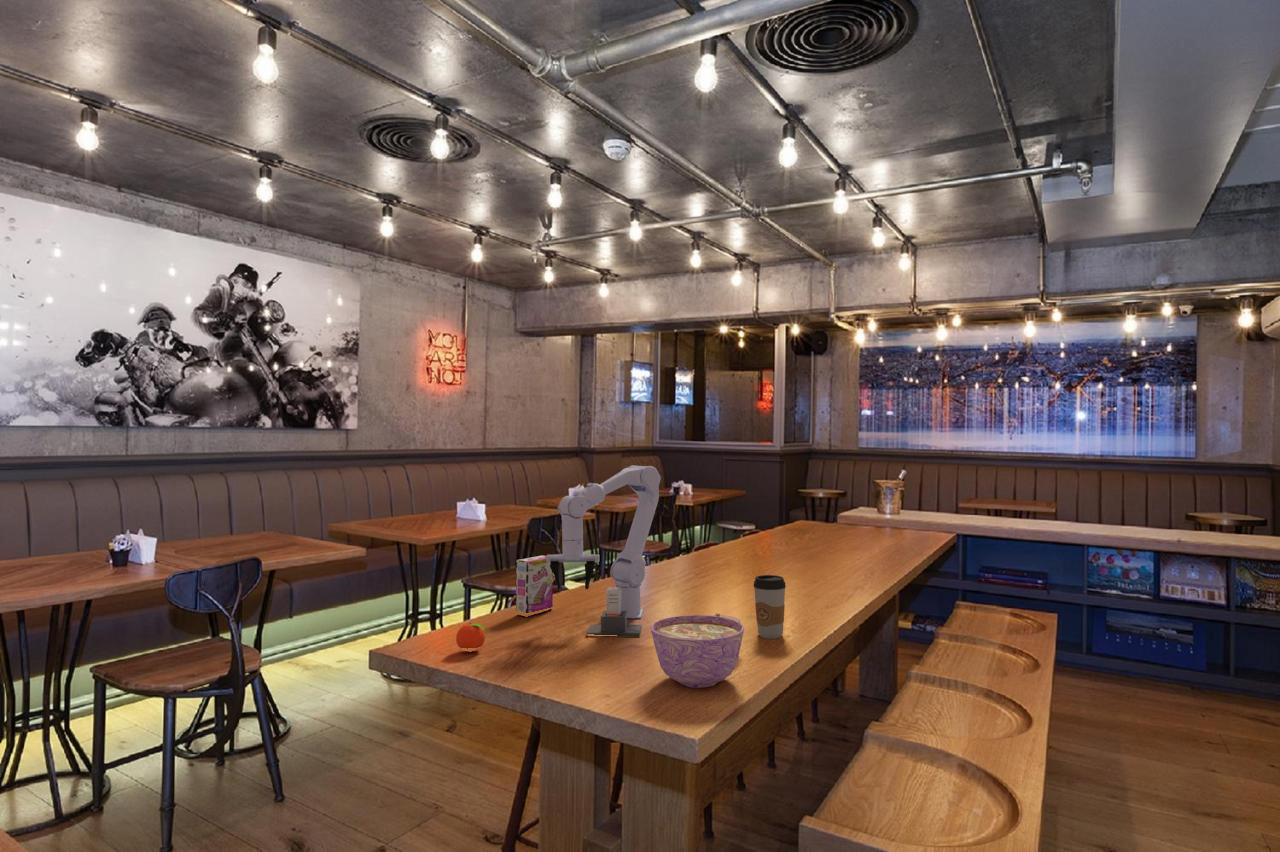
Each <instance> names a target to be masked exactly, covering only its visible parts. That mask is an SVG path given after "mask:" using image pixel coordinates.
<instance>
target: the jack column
mask: <svg viewBox="0 0 1280 852" xmlns="http://www.w3.org/2000/svg"><path fill="white" fill-rule="evenodd" d="M606 611H607V615H619V616H622V600H621V587H616V586H614V587H613V586H612V587H611V586H609V587H607V588H606ZM607 615H606V616H607Z"/></svg>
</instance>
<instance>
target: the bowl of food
mask: <svg viewBox="0 0 1280 852" xmlns="http://www.w3.org/2000/svg"><path fill="white" fill-rule="evenodd" d="M650 631H651V635H652V636H651V637H652V640H653V643H654V648H655V651H656V656H657V660H658V662H659V664H660V665H659V666H660V669H661V670H662V671H663V673H664V674H665V676H667V677H669V678H671V679H672V680H674V681H676V682H678V683H679V684H681V685H682V686H686V687H688V688H696V689H698V688H701V689H702V688H708V687H709V688H710V687H712V686H715V685H716V684H717V683H719V682H721V681H723V680H725V679H727V678H728V677H729V676H731V675H732V673H733V671H734V670H735V668H736V665H737V663H738V659H739V655H740V650H741V646H742V641H743V637H744V633H745V626H744V625H743V624H742V623H741V622H740V623H739V622H737V621H735V620H732V619H728V618H724V617H718V616H709V614H708V615H705V614H704V615H703V614H692V615H691V614H688V615H687V614H686V615H685V614H684V615H677V616H675V615H674V616H669V617H666V618H662V619H659V620H656V621H654V622H653V623H652V624H651V625H650Z"/></svg>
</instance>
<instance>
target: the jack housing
mask: <svg viewBox="0 0 1280 852" xmlns="http://www.w3.org/2000/svg"><path fill="white" fill-rule="evenodd" d="M606 615H607V610H603V611H602V614H601V615H600V624H589V627H588V629H587V630H586V632H585V633H586V634H594V635H617V636H636V637H635V638H638V637H639V638H640V636H641V633H642V630H641V629H643V626H642V625H643V624H628V618H627V611H622V616H619V615H607V616H606Z"/></svg>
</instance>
